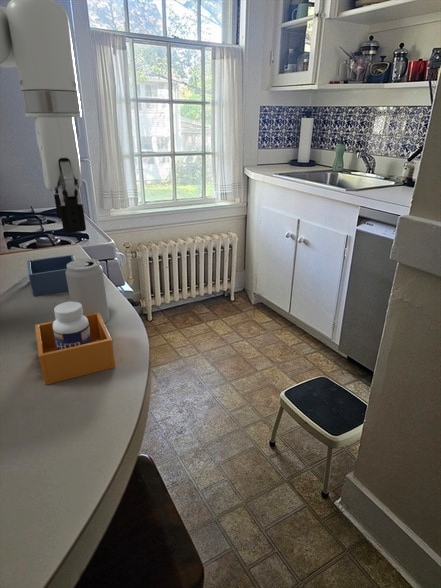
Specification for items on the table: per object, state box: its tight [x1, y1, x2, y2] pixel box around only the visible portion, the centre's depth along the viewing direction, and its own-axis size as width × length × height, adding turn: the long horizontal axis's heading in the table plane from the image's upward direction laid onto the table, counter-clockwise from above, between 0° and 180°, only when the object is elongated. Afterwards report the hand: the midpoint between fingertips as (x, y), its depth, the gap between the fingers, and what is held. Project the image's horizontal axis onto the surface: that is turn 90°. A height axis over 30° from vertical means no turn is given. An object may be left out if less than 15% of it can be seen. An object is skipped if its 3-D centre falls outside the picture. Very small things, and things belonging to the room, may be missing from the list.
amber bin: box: [34, 312, 116, 386], centre depth 62 cm, size 10×10×5 cm
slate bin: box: [26, 254, 76, 297], centre depth 90 cm, size 10×10×5 cm
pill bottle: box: [53, 301, 91, 350], centre depth 61 cm, size 5×5×9 cm
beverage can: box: [65, 258, 110, 324], centre depth 72 cm, size 6×6×12 cm
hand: (71, 224), depth 63 cm, fingers open, 9 cm apart
